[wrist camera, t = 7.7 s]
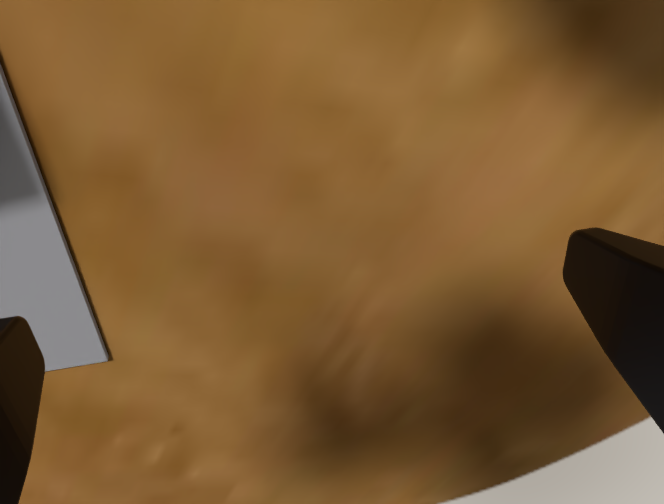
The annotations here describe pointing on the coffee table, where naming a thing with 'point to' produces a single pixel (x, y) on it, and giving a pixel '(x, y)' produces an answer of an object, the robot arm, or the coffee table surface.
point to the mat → (39, 255)
